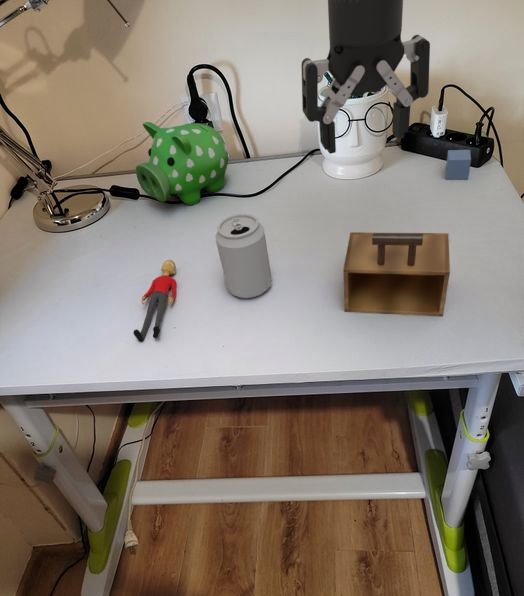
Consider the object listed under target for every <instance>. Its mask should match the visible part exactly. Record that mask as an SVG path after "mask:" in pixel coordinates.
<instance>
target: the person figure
mask: <svg viewBox="0 0 524 596" xmlns="http://www.w3.org/2000/svg"><path fill="white" fill-rule="evenodd" d="M160 272H161V273H162V275H159V276H157V277H156V278H155V279H153V280H152V282H151V285H150V287H149V289H148V290H147V291H146V292H145V294H144V295H143V296H142V297H141V301H140V302H141V305H145V302H144V301H145V300H147V299H148V298H149V297H150V298H149V301H148V305H147V309H146V314H145V317H144V321H143V325H142V327H141V330H139V329H134V330H133V336H134V337H135V338H136V339H137V341H138V342H140V343H142V342H144V340H145V337H146V335H147V333H148V330H149V327H150V325H151V322H152V316H153V314H154V311H155V309H156V307H157V312H156V316H155V323H154V326H153V328H152V331H153V334H152V337H153V338H154V339H159V336H160V332H161V324H162V321H163V315H164V311H165V308H166V304H167V305H169V306H171V305H172V304H173V303H174V300H175V298H176V296H177V280H176V279H175V278H173V277H172V276H173V275H175V274H176V263H175V261H173V260H172V259H166V260H165V261H164V262H163V264H162V266H161V269H160ZM170 288H171V295H170V296H169V297H168V295H169V294H168V293H169V290H170ZM167 302H168V303H167Z"/></svg>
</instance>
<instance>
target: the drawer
mask: <svg viewBox="0 0 524 596" xmlns="http://www.w3.org/2000/svg"><path fill="white" fill-rule="evenodd" d="M449 234H450V233H448V232H360V231H359V232H352V231H351V232H349V238H348V243H347V248H346V252H345V257H344V258H345V260H344V264H343V269H342V270H343V300H344V301H343V303H344V305H343V306H344V312H345V313H365V314H385V315H386V314H387V315H406V316H426V317H428V316H430V317H444V314H445V313H444V312H445V305H446V301H447V300H446V299H447V293H448V286H449V281H450V276H451V275H450V274H451V261H450V239H449V238H450V237H449V236H450V235H449Z"/></svg>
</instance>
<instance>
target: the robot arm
mask: <svg viewBox="0 0 524 596" xmlns="http://www.w3.org/2000/svg"><path fill="white" fill-rule="evenodd" d="M403 8H404V0H327V12H328V13H327V15H328V38H329V40H328V41H329V51H328V54H327V56H326V58H323V59H315V60H312V59H311V58H309V57H305V58H304V59H303V60H302V61H301V65H300V66H301V101H302V102H301V104H302V105H301V106H302V113H303V115H304V116H305V117H306V119H307V120H308V122H311V123H313V122H319V138H320V143H321V145H322V147H323V148H324V151H327V152H328V154H335V153H336V152H337V148H336V147H337V146H336V123H335V121H334V119H335V117H336V116H337V114H338V113H339V111H340V109H341V108H343V107H344V106H345V104H346V103H347V101H348V99H349V98H350V96H352V97H354V98H357V97H360V96H364V95H365V94H367V93H373V94H374V93H379V92H382V89H383V88H385V87H386V88H387V89H388V90H389V91H390V92H391V94H392V95H393V96H394V98H395V100H396V101H394V102H393V104H392V105H393V107H392V129H391V130H392V135H393V136H394V137H395V138H396V139H397V140H401V139H404V138H405V133H408V131H409V129H410V119H411V118H410V117H411V106H412V104H413V103H414V102H415V101H416V100H418V99H423V98H426V97H427V96H428V94H429V92H430V91H429V86H430V84H429V83H430V60H431V59H430V58H431V56H430V55H431V42H430V41H429V40H428V39H426V38H425V37H423V36H422V35H420V34H415V35H413V36H412V37H411V39H410V40H409V39H408V40H405V41H402V30H403V29H402V28H403V12H404V11H403V10H404V9H403ZM404 56H405V58H406V60H407V61H409V62H410V65H409V66H410V67H409V68H410V69H409V71H410V72H409V73H410V75H409V78H410V79H409V83H410V85H408V86H407V87H405V85H404V83H403V81H401V80H400V78H399V77H398V75H397V74H396V73H395V71H396V70H397V68H398V67H399V65H400V63H401V62H402V60H403V58H404ZM327 72H328V73H330V75H331V76H332V77H333V79H332V81H331V83H330V85H329V87H328V88H327V90H326V93H325V94H326V95H325V97H324V98H323V100H322V102H321V104H320V105H319V101H318V99H319V95H318V91H319V90H318V89H319V88H318V86H319V84H320V83H322V81H323V79H324V75H325V73H327Z"/></svg>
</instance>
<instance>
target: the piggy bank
mask: <svg viewBox="0 0 524 596" xmlns="http://www.w3.org/2000/svg"><path fill="white" fill-rule="evenodd" d="M142 126H143V128H144V129H145V131H146V132H147V133H148V135H150V137H151V139H152V143H151V147H150V148H149V149H148V150H147V154H148V156H149V159H148V161H146V162H142V163H139V164H137V165H135V166H136V167H135V175H136V178H137V182H138V184H139V186H140V187H141V189H142V190H143V191H144V192H145V194H147V195H148V196H149V197H152V198H154V199H156V200H157V201H159V202H161V203H165V202H166V201H167V200H168V199H169V198H170V197H172V198H176V197H179V199H180V201H181V202H182V203H184V204H185V205H186V206H193V205H196V204H198V203H199V202H200V199H201V190H202V189H204V190H206V191H207V192H209V193H216V192H219V191H221V190H222V189H223V188H224V185H225V184H226V171H227V169H228V164H229V153H228V152H229V151H228V148H227V144H226V142H225V140H224V138H223V136H222V135H221V133H219V132H218V130H216V129H214V128H213V127H211V126H209V125H206V124H203V123H184V124H181V125H176V126H166V127H159V126H158V125H157V124H155V123H153V122H151V121H145V122H142Z"/></svg>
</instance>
